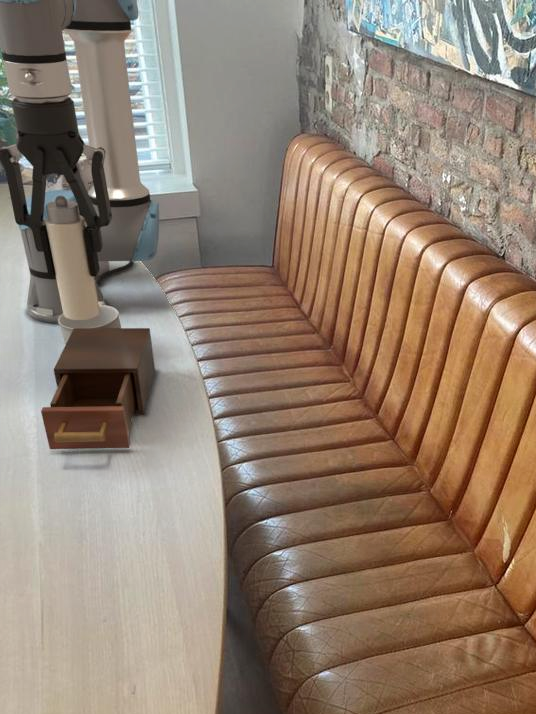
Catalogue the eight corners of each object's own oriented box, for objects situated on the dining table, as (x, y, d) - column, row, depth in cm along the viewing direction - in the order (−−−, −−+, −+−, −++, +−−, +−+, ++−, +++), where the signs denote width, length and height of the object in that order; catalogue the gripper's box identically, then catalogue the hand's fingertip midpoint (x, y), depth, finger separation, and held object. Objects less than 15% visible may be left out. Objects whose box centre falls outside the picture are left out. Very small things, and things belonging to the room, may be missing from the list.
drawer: (125, 463, 116) (118, 425, 112) (42, 465, 115) (33, 426, 111) (141, 401, 131) (136, 365, 127) (69, 402, 130) (62, 366, 126)
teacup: (108, 370, 141) (102, 330, 137) (54, 363, 143) (45, 322, 138) (141, 339, 153) (136, 300, 148) (90, 332, 154) (83, 294, 149)
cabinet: (144, 414, 129) (137, 368, 124) (63, 415, 128) (53, 369, 123) (155, 371, 142) (149, 327, 137) (81, 371, 141) (73, 328, 136)
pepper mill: (67, 306, 118) (45, 190, 108) (102, 306, 118) (83, 190, 108) (60, 320, 114) (35, 201, 103) (96, 320, 114) (75, 201, 104)
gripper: (-43, 100, 95) (1, 282, 108) (110, 104, 96) (135, 283, 110) (-24, 89, 101) (16, 263, 114) (120, 93, 102) (142, 264, 116)
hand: (74, 272), depth 112 cm, fingers closed on pepper mill, 5 cm apart
